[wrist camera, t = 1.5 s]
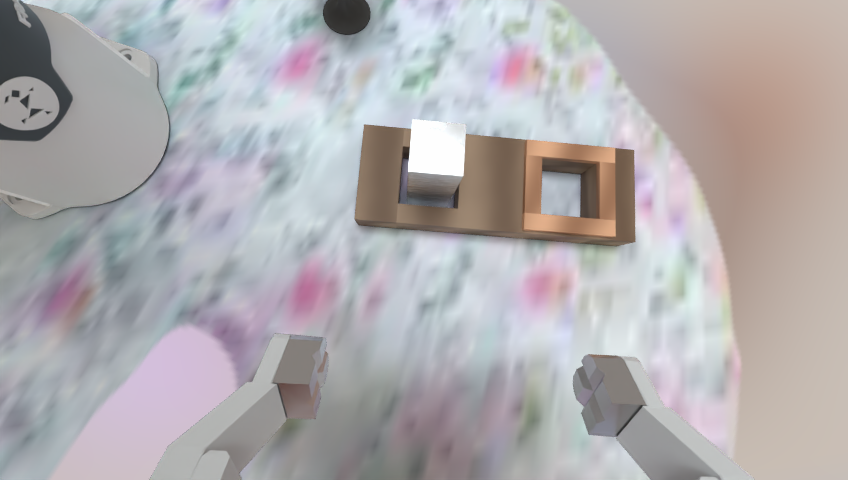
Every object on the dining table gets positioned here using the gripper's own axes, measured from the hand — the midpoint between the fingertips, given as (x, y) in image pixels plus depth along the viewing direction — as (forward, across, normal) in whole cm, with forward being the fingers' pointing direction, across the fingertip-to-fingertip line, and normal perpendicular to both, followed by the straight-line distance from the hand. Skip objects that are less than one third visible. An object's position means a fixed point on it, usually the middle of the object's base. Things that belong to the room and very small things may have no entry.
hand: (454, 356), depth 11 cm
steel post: (+25, 0, +8) cm, 26 cm away
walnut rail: (+25, -6, +8) cm, 27 cm away
